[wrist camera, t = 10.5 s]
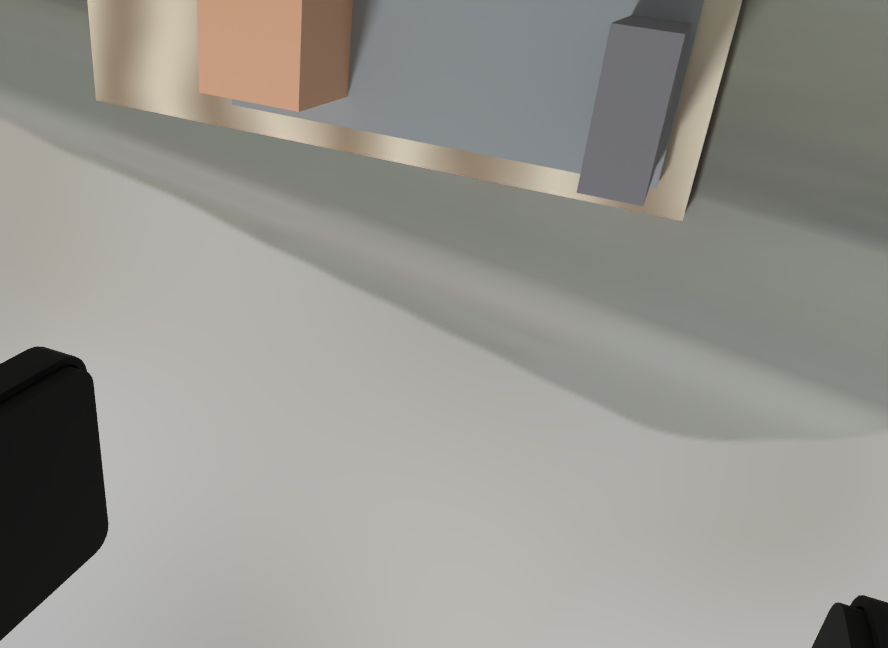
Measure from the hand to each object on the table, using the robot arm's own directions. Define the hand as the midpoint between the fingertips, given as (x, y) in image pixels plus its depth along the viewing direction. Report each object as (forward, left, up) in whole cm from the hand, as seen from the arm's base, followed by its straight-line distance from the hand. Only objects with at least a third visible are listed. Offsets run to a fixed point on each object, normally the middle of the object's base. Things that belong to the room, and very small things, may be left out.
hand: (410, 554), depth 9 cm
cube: (+16, -2, -28) cm, 33 cm away
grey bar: (+9, -2, -29) cm, 31 cm away
